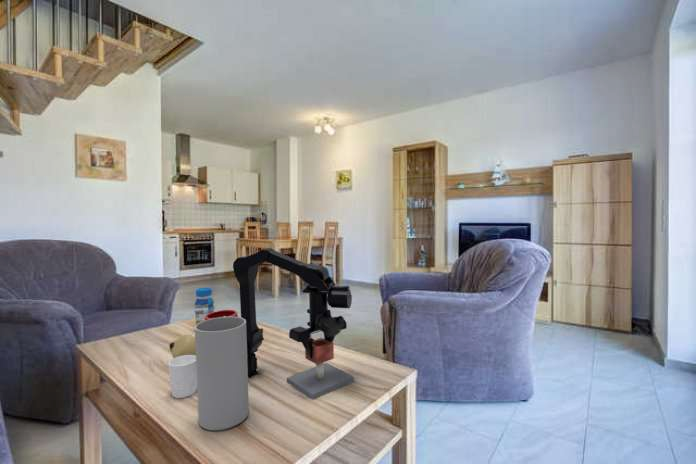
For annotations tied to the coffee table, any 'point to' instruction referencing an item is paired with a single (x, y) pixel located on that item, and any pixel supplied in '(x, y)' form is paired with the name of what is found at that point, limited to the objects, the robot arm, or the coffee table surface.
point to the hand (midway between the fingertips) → (319, 355)
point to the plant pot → (221, 314)
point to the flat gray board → (319, 380)
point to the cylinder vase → (221, 372)
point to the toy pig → (183, 346)
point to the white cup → (183, 376)
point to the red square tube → (321, 351)
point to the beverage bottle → (203, 304)
